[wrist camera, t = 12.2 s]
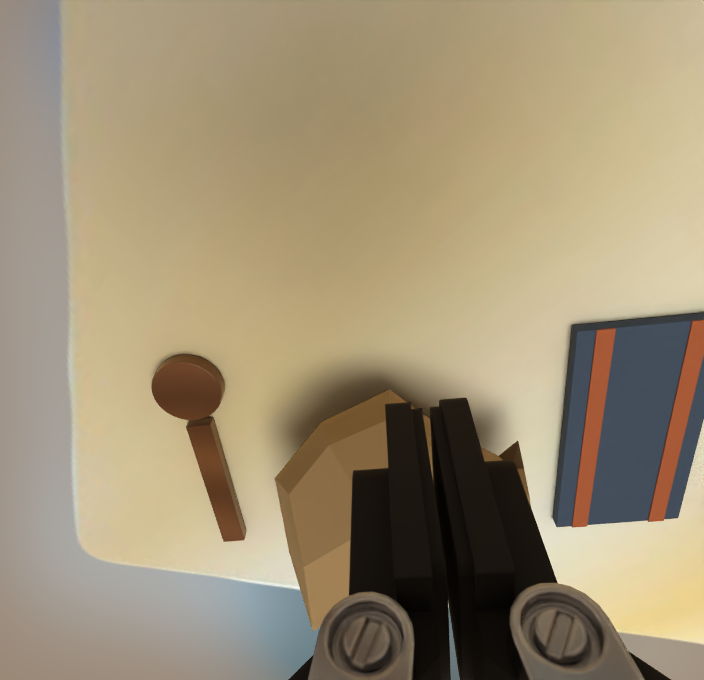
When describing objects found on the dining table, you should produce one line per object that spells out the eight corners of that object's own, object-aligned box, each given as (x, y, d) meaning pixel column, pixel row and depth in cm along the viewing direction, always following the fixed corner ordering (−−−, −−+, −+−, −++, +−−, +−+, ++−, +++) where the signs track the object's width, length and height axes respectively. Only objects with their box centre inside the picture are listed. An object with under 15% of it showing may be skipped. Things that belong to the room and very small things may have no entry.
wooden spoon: (147, 357, 30) (142, 365, 29) (216, 351, 30) (212, 359, 29) (208, 534, 37) (205, 544, 36) (264, 529, 36) (262, 540, 36)
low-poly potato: (246, 466, 34) (339, 621, 33) (191, 507, 23) (328, 739, 22) (438, 345, 35) (535, 495, 34) (473, 329, 24) (618, 551, 23)
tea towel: (571, 324, 29) (577, 332, 28) (721, 310, 28) (731, 317, 28) (552, 518, 36) (557, 528, 35) (671, 509, 35) (678, 519, 35)
